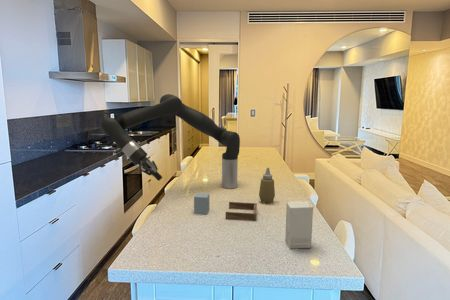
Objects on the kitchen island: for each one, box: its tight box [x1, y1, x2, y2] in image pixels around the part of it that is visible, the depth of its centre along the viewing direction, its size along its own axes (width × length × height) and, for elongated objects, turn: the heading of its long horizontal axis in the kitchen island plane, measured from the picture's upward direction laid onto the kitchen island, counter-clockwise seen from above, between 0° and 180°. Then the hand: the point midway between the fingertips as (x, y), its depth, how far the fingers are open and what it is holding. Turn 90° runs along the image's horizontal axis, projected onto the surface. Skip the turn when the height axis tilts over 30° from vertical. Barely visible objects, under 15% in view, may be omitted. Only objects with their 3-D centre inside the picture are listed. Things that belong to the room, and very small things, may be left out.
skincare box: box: [285, 200, 314, 249], centre depth 108 cm, size 8×7×16 cm
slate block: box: [193, 192, 210, 215], centre depth 139 cm, size 6×6×8 cm
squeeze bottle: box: [258, 167, 276, 205], centre depth 152 cm, size 8×8×18 cm
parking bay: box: [225, 201, 258, 222], centre depth 137 cm, size 14×13×3 cm
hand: (160, 179), depth 140 cm, fingers closed
